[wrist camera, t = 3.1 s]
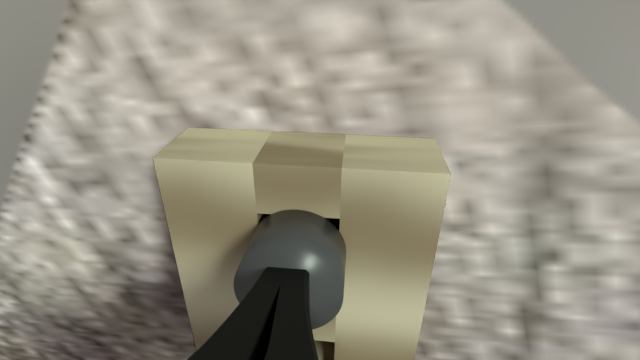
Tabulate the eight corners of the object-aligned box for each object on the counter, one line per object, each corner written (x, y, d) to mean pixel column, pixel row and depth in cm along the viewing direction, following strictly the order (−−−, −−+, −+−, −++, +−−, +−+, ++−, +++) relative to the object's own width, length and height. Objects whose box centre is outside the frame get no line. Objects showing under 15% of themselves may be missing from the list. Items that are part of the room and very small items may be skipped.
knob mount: (387, 427, 24) (390, 482, 21) (236, 410, 25) (221, 460, 22) (435, 138, 15) (451, 174, 12) (188, 127, 15) (152, 158, 13)
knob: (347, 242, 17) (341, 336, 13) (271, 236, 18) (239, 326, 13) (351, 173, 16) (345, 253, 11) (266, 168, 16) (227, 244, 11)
